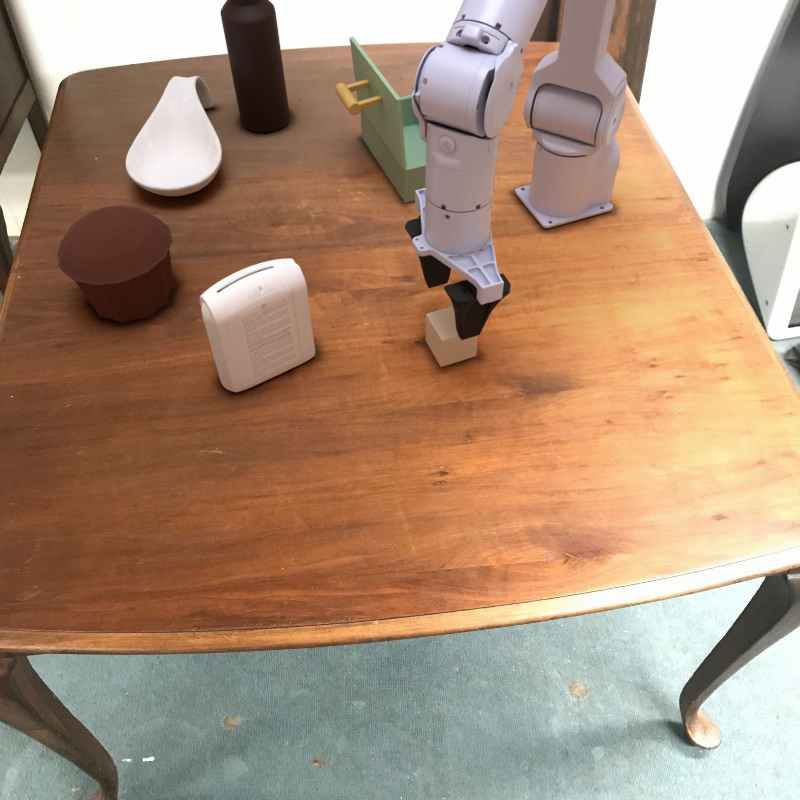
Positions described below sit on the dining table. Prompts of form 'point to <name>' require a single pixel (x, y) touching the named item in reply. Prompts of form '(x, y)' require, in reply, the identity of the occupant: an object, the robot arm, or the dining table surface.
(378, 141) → the compartment
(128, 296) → the muffin
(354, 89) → the compartment door
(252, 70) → the bottle
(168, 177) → the spoon rest
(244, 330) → the photo printer
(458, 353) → the block
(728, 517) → the dining table surface
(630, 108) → the dining table surface
